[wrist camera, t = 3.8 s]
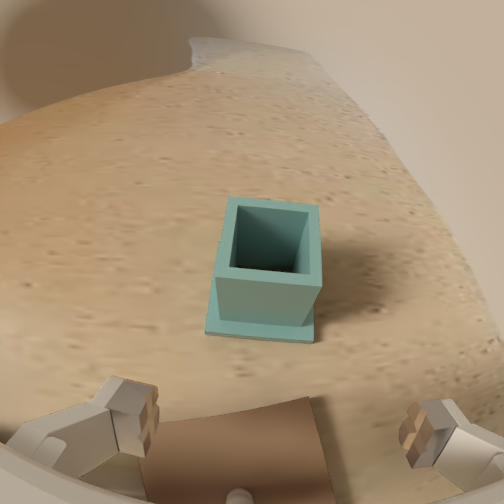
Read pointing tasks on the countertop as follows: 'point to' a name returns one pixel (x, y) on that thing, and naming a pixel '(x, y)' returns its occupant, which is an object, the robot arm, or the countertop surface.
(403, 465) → the countertop surface
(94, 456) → the robot arm
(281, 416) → the walnut post base
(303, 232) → the flanged sleeve
